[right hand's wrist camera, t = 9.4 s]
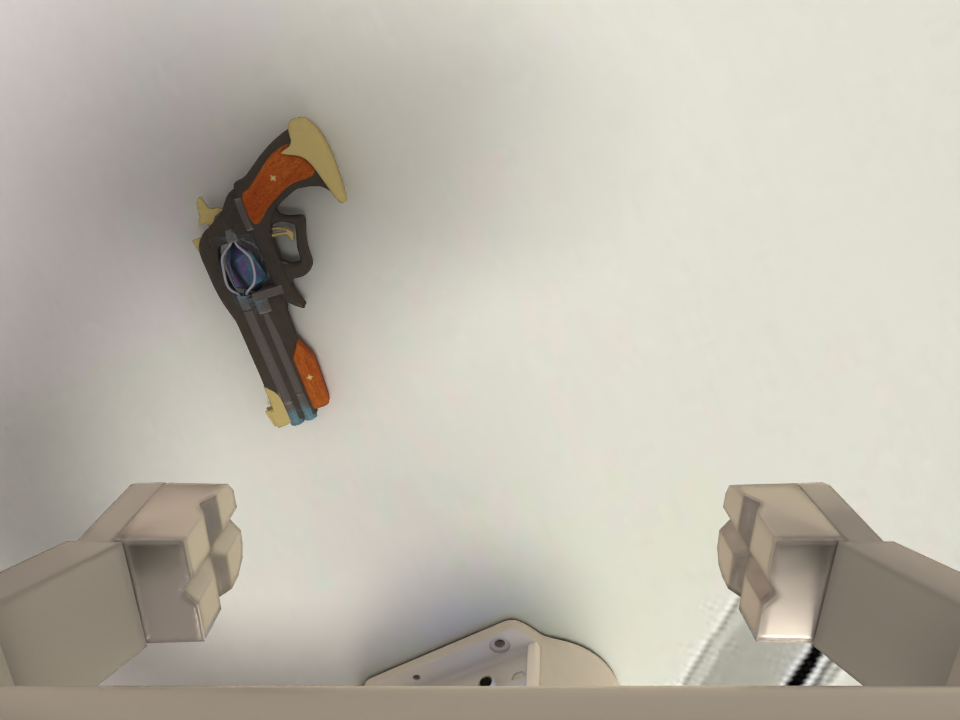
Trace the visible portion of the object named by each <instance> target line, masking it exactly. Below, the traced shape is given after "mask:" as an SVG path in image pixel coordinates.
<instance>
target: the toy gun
mask: <svg viewBox="0 0 960 720" xmlns="http://www.w3.org/2000/svg"><path fill="white" fill-rule="evenodd" d="M307 186H322V187H324V188H326V189H328V190H330V191H331V192H332V194H333V195H334V196H335V197H336V198H337V200H338V201H339V202H341V203H343V202H345V201H347V198H346V193H345V189H344V186H343V182H342V179H341V176H340V173H339V170H338V167H337V164H336V162H335V159H334V156H333V154H332V151H331V149H330V147H329V145H328V143H327V141H326V139H325V138H324V136H323V135H322V133H321V132H320V130H319V129H318V128H317V127H316V126H315V125H314V124H313V123H312V122H311V121H310V120H308V119H306V118H304V117H299V118H295V119H293V120H291V121H290V122H289V124H288V130H286V131H285V132H283V133H282V134H281V135H280V136H278V137H277V138H276V139H275V140H274V141H273V142H272V143H271V144H270V145H269V146H268V147H267V148H266V149H265V150H264V152H263V153H262V154H261V155H260V157H259V158H258V159H257V161H256V162H255V164H254V165H253V167H252V168H251V169H250V171H249V172H248V173H247V175H246V176H245V177H244V178H242V179H240V180H238V181H236V182H235V184H234V189H233V190H232V191H231V192H230V193H229V194H228V196H227V198H226V201H225V204H224V207H223V209H221V208H213V209H210V208H209V207H208V206H207V205H206V203H205V202H204V200H203V199H202V198H201V197H199V198H198V200H197V208H198V212H199V215H200V218H199V225H202V224H204V223H207V224H208V225H209V228H208V229H207V230H206V231H205V232H204V233H203V235H202V237H201V238H199V239H195V240H192V241H193V243H194V244H195V246H196V247H197V249H198V251H199V252H200V255H201V258H202V261H203V263H204V265H205V267H206V270H207V272H208V274H209V276H210V279H211V281H212V283H213V285H214V288H215V289H216V291H217V293H218V295H219V297H220V299H221V300H222V302H223V304H224V305H225V307H226V308H227V309H228V311H229V312H230V314H231V315H232V316H233V318H234V319H235V321H236V322H237V324H238V326H239V329H240V331H241V333H242V335H243V338H244V340H245V342H246V344H247V347H248V349H249V351H250V354H251V356H252V358H253V360H254V363H255V365H256V367H257V369H258V372H259V374H260V376H261V379H262V381H263V384H264V388H265V391H266V393H267V395H268V398H269V400H270V403H271V405H272V406H271V407H267V411H265V412H266V414H267V415H268V417H269V418H270V420H271V421H272V423H273V424H274V426H278V427H282V426H285V425H287V424H289V423H290V422H291V425H293V426H296V425H299V424H301V423H303V422H304V419H305V420H312V419H314V418H315V417H317V408H319V407H323V406H325V405H327V404H328V403H329V394H328V391H327V388H326V385H325V382H324V379H323V376H322V373H321V371H320V368H319V365H318V362H317V359H316V357H315V355H314V353H313V352H312V351H311V350H310V349H309V348H308V347H307V346H306V345H305V344H304V343H303V342H302V341H301V340H300V339H299V338H298V337H297V335H296V332H295V330H294V327H293V325H292V322H291V320H290V316H289V313H288V307H287V302H289V303H291V304H293V305H295V306H298V307H301V308H305V305H306V301H305V300H304V298H303V297H302V296H301V295H300V294H299V292H298V291H297V289H296V288H295V286H294V284H293V283H292V280H293V279H294V278H298V277H302V276H304V275H305V274H307V273H308V272H309V271H310V269H311V267H312V265H313V259H312V256H311V254H310V251H309V247H308V243H307V237H306V218H305V216H304V215H302V214H298V215H284V214H281V213H280V212H279V211H278V209H277V206H278V205H279V204H280V203H281V202H282V201H283V200H284V199H285V198H286V197H287V196H288V195H289V194H291V193H292V192H293V191H294V190H296V189H298V188H301V187H307ZM278 222H289V223H293V224H294V225H295V227H296V236H297V246H298V251H299V254H300V257H301V260H300V261H298V262H290V261H287V260H284V259H282V257H281V254H280V252H279V249H278V247H277V244H276V242H275V239H274V237H275V236H280V235H288V236H289V238H290V239H291V241H293V240H294V231H293V230H290V229H287V228H284V227H273V224H274V223H278ZM275 229H283V230H285V231H286V232H278V233H272V230H275ZM249 237H253V238H254V240H255V242H256V245H257V246H256V245H255V244H253V243H252V242H250V241H248V240H245V239H246V238H249ZM239 240H241V241H243V242H246V243H249V244H250V245H252V246H253V247H255V248H256V249H257V250H258V252H259V253H260V255H261V260H259V259H258V258H257V257H256V256H255V255H254V254H252V253H251V252H250V251H249V250H247V249H246V248H244V247H242V246H241V245H239V244H237V242H236V241H239ZM224 244H229V245H228V246H227V248H226V249H225V250H224V251H223V253H222V256H221V252H220V248H221V245H224ZM227 250H228V251H227ZM226 252H227V255H226V258H225V261H226V264H227V267H228V269H229V272H230V275H231V277H232V280H233V282H234V285H235V287H236V288H242V289H243V292H242V293H238V292H237V291H236V290H235V288H234V287H233V285H232V283H231V281H230V279H229V277H228V275H227V273H226V270H225V268H224V255H225V253H226ZM262 262H264V264H265V266H266V268H267V270H268V272H269V274H270V276H271V278H272V280H273V281H274V282H273V283H269V284H265V285H263V284H264V283H265V282H266V281H267V280H268V279H269V278H268V276H267V273H266V271H265V269H264V266H263V264H262ZM245 289H248V290H247V291H246V292H245ZM250 290H253V291H255V292H252V294H251V293H250V292H249V291H250Z"/></svg>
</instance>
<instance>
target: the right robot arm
mask: <svg viewBox="0 0 960 720" xmlns="http://www.w3.org/2000/svg"><path fill="white" fill-rule="evenodd" d="M236 508H237V505H236V500H235V496H234V491H233V489H232V488H231V487H230V486H229V485H228V484H200V483H164V482H163V483H136V484H132V485H130V486H129V487H128V488H127V489H126V490H125V491H124V492H123V493H122V494H121V495H120V497H119V498H118V499H117V500H116V501H115V502H114V503H113V504H112V505H111V506H110V507H109V508H108V509H107V510H106V511H105V512H104V513H103V514H102V515H101V516H100V517H99V518H98V519H97V521H96V522H95V523H94V524H93V525H92V526H91V527H90V528H89V529H88V530H87V531H86V532H85V533H84V534H83V535H82V536H81V537H80V538H79V539H78V540H77V541H76V542H64V543H62V544H60V545H58V546H56V547H53V548H51V549H49V550H47V551H45V552H43V553H40V554H38V555H36V556H34V557H32V558H30V559H27V560H25V561H23V562H21V563H19V564H16V565H14V566H12V567H10V568H8V569H6V570H3V571H1V572H0V720H960V572H959V571H956V570H954V569H952V568H950V567H948V566H946V565H943V564H941V563H939V562H937V561H935V560H933V559H930V558H928V557H926V556H924V555H922V554H920V553H917V552H915V551H913V550H911V549H909V548H907V547H904V546H902V545H900V544H898V543H896V542H884V541H883V540H882V539H881V538H880V537H879V536H878V535H877V534H876V533H875V532H874V531H873V530H872V529H871V528H870V527H869V526H868V525H867V524H866V523H865V522H864V520H863V519H862V518H861V517H860V516H859V515H858V514H857V513H856V512H855V511H854V510H853V509H852V508H851V507H850V506H849V505H848V504H847V503H846V502H845V501H844V500H843V498H842V497H841V496H840V495H839V494H838V493H837V492H836V491H835V490H834V489H833V488H832V487H831V486H830V485H828V484H825V483H823V482H814V483H791V484H752V485H729V487H728V490H727V492H726V494H725V499H724V505H723V508H724V509H725V511H726V513H727V514H728V516H729V518H730V520H729V521H728V522H727V523H726V524H725V525H724V526H723V527H722V528H721V529H720V530H719V537H718V545H717V551H718V562H719V567H720V571H721V574H722V577H723V579H724V581H725V583H726V585H727V587H728V589H730V590H731V591H733V592H734V593H736V594H737V595H739V596H740V597H741V599H740V605H739V610H740V612H741V614H742V616H743V618H744V620H745V621H746V623H747V625H748V627H749V629H750V631H751V633H752V634H753V636H754V638H755V640H756V641H761V642H797V643H813V646H814V647H815V648H817V649H818V650H819V651H820V652H822V653H823V654H824V655H825V656H827V657H828V658H829V659H830V660H832V661H833V662H834V663H835V664H837V665H838V666H839V667H840V668H842V669H843V670H844V671H845V672H847V673H848V674H849V675H850V676H852V677H853V678H854V679H855V680H857V681H858V682H859V683H860V684H862V685H863V686H618V683H617V680H616V678H615V676H614V674H613V672H612V671H611V669H610V668H609V667H608V666H607V664H606V663H605V662H604V661H603V660H602V659H600V658H599V657H598V656H597V655H595V654H594V653H592V652H591V651H589V650H587V649H585V648H583V647H581V646H579V645H576V644H573V643H570V642H567V641H563V640H558V639H554V638H550V637H547V636H544V635H541V634H540V633H539V632H537V631H536V630H534V629H533V628H531V627H530V626H528V625H526V624H524V623H522V622H520V621H517V620H507V621H504V622H501V623H499V624H496V625H494V626H492V627H489V628H487V629H485V630H482V631H480V632H478V633H475V634H473V635H471V636H468V637H466V638H463V639H461V640H459V641H456V642H454V643H452V644H449V645H447V646H445V647H442V648H440V649H438V650H435V651H433V652H430V653H428V654H426V655H423V656H421V657H419V658H416V659H414V660H412V661H409V662H407V663H405V664H402V665H400V666H397V667H395V668H393V669H390V670H388V671H386V672H383V673H381V674H379V675H376V676H374V677H372V678H370V679H368V680H367V681H366V682H365V685H364V686H97V685H99V684H100V683H101V682H102V681H104V680H105V679H106V678H107V677H109V676H110V675H111V674H112V673H114V672H115V671H116V670H117V669H119V668H120V667H121V666H122V665H124V664H125V663H126V662H127V661H129V660H130V659H131V658H132V657H134V656H135V655H136V654H137V653H139V652H140V651H141V650H142V649H144V648H145V647H146V646H147V644H146V643H162V642H197V641H204V640H205V638H206V636H207V635H208V633H209V631H210V629H211V627H212V625H213V623H214V621H215V620H216V618H217V616H218V614H219V612H220V610H221V605H220V599H219V597H220V596H221V595H223V594H224V593H226V592H227V591H229V590H230V589H232V587H233V585H234V583H235V581H236V579H237V577H238V575H239V570H240V566H241V561H242V536H241V530H240V529H239V528H238V527H237V526H236V525H235V524H234V523H233V522H232V521H231V520H230V518H231V516H232V514H233V513H234V511H235V509H236ZM499 639H500V640H501V641H498V640H499Z"/></svg>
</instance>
